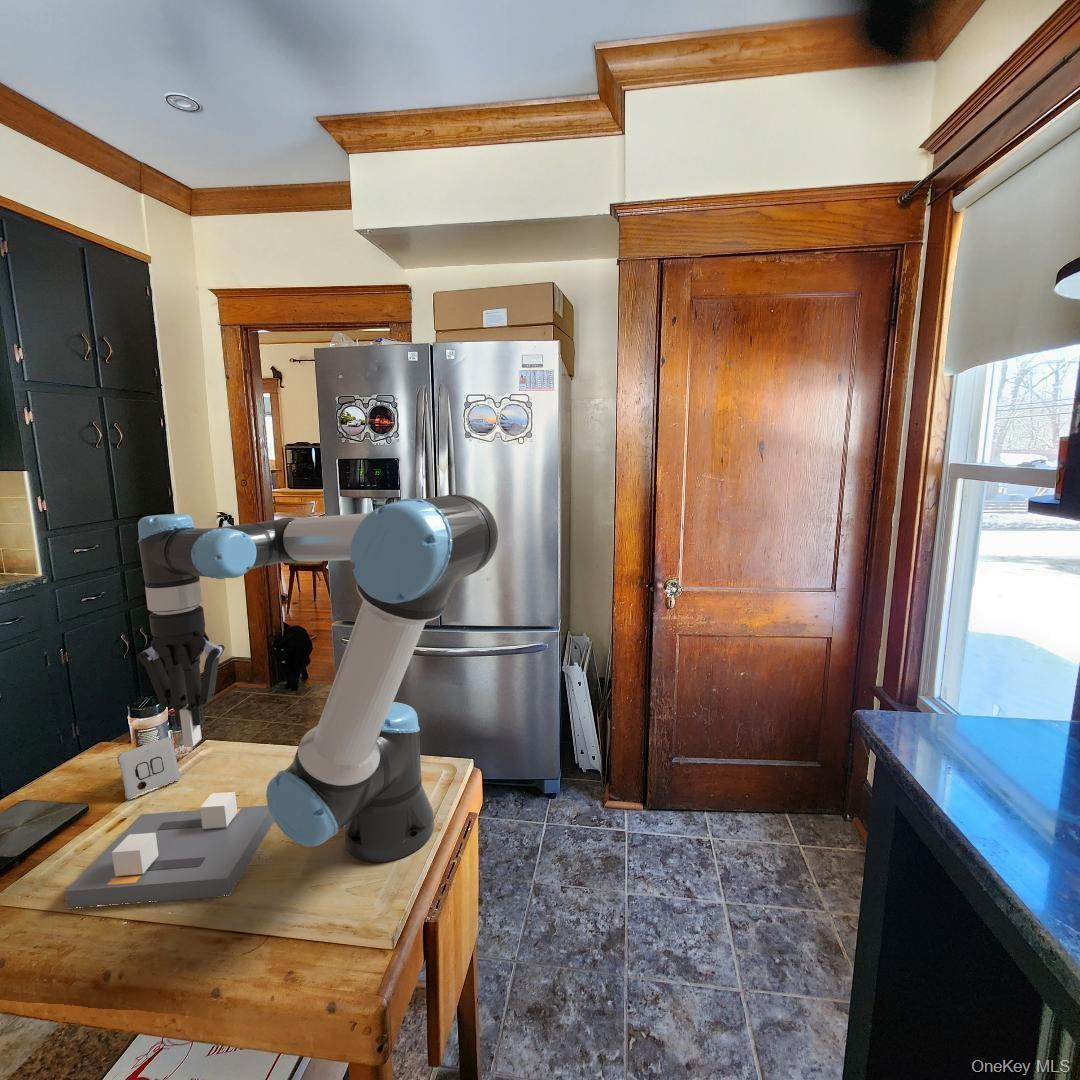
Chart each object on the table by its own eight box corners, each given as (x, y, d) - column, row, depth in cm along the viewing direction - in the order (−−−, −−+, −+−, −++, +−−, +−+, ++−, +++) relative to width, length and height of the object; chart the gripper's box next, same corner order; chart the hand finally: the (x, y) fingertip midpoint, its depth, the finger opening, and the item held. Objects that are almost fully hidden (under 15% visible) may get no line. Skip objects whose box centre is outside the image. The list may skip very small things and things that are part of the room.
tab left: (158, 855, 88) (155, 832, 88) (143, 873, 85) (139, 850, 84) (132, 857, 88) (128, 834, 88) (115, 876, 84) (111, 852, 84)
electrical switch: (127, 803, 108) (120, 757, 107) (119, 796, 111) (112, 751, 111) (181, 781, 115) (174, 738, 115) (172, 774, 119) (166, 733, 118)
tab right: (237, 812, 99) (235, 791, 98) (226, 827, 95) (224, 805, 94) (214, 814, 99) (211, 793, 98) (202, 828, 95) (199, 807, 94)
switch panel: (274, 819, 102) (273, 804, 101) (229, 895, 84) (227, 877, 84) (143, 829, 100) (141, 813, 100) (68, 909, 82) (65, 890, 82)
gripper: (228, 600, 95) (242, 729, 99) (148, 604, 94) (165, 734, 98) (206, 612, 88) (222, 751, 91) (119, 616, 87) (138, 757, 90)
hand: (192, 742), depth 94 cm, fingers closed
